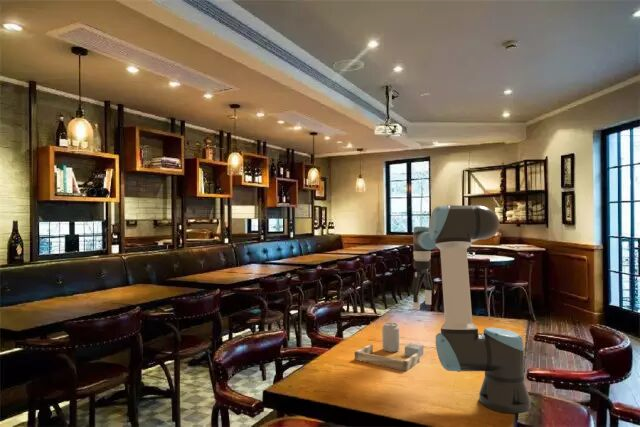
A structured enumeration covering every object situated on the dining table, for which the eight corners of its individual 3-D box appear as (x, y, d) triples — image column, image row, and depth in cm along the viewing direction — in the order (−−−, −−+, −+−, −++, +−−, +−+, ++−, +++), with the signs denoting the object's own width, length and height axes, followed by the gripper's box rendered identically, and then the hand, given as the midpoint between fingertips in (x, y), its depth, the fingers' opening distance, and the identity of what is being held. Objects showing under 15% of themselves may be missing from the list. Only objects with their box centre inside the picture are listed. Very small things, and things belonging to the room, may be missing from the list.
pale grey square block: (417, 358, 182) (417, 349, 182) (404, 355, 186) (404, 346, 186) (423, 354, 187) (423, 345, 187) (410, 352, 190) (410, 343, 190)
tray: (406, 371, 166) (406, 362, 166) (354, 360, 180) (354, 351, 180) (419, 362, 177) (419, 353, 177) (369, 352, 190) (369, 344, 190)
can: (380, 351, 192) (380, 324, 192) (385, 347, 198) (385, 321, 198) (396, 353, 188) (396, 326, 188) (401, 349, 195) (401, 322, 195)
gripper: (424, 257, 206) (425, 301, 206) (402, 262, 186) (403, 310, 186) (439, 258, 202) (440, 303, 202) (418, 263, 182) (419, 313, 182)
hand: (422, 306), depth 194 cm, fingers open, 13 cm apart
